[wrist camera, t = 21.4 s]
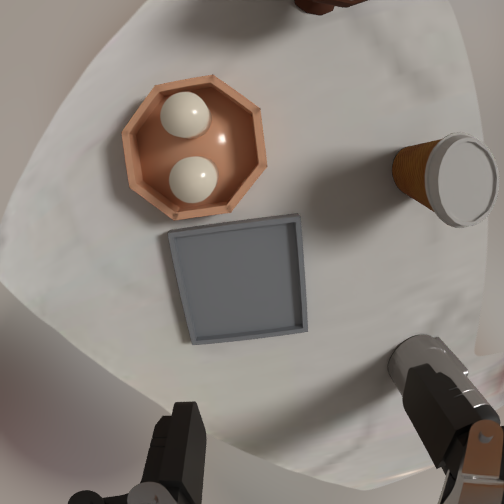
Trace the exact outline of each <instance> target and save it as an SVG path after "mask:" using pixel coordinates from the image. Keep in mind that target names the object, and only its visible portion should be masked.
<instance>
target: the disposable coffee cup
mask: <svg viewBox="0 0 504 504" xmlns="http://www.w3.org/2000/svg"><path fill="white" fill-rule="evenodd" d="M392 174H393V178H394V181H395V183H396V185H397V187H398V188H399V189H400V190H401V191H402V192H403V193H405V194H407V195H408V196H410V197H411V198H413V199H415V200H416V201H418V202H419V203H421V204H422V205H424V206H426V207H427V208H429V209H430V210H432V211H433V212H435V213H436V215H437V216H438V217H439V218H440V219H441V220H442V221H443V222H444V223H446V224H447V225H450V226H452V227H455V228H464V227H468V226H473V225H476V224H478V223H480V222H481V221H483V220H484V219H485V218H486V217H487V216H488V215H489V213H490V212H491V211H492V209H493V207H494V205H495V202H496V199H497V195H498V189H499V173H498V167H497V164H496V161H495V158H494V156H493V154H492V153H491V151H490V150H489V148H488V147H487V146H486V145H485V144H484V143H482V142H481V141H479V140H478V139H477V138H475V137H474V136H472V135H470V134H467V133H464V132H457V133H452V134H450V135H448V136H446V137H444V138H443V139H441V140H436V141H431V142H427V143H422V144H418V145H414V146H409V147H405V148H403V149H402V150H401V151H399V152H398V154H397V155H396V157H395V159H394V162H393V166H392Z"/></svg>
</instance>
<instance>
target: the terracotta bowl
mask: <svg viewBox="0 0 504 504" xmlns="http://www.w3.org/2000/svg"><path fill="white" fill-rule="evenodd" d="M179 92H191V93H194V94H196V95H197V96H199V97H200V98H201V99H202V100H203V102H204V103H205V104H206V106H207V107H208V108H209V110H210V112H211V115H212V122H211V126H210V128H209V130H208V131H207V132H206V133H205V134H204V135H202V136H201V137H199V138H195V139H187V138H182V137H177V136H174V135H172V134H170V133H168V132H167V131H166V130H165V129H164V127H163V125H162V123H161V119H160V113H161V109H162V106H163V104H164V103H165V101H166V100H167V99H168V98H169V97H171V96H172V95H174V94H176V93H179ZM260 110H261V109H260V108H259V107H257V106H256V105H255V104H253V103H252V102H251V101H249V100H248V99H247V98H245V97H244V96H243V95H241V94H240V93H238V92H237V91H236V90H234V89H233V88H231V87H230V86H228V85H227V84H226V83H224V82H223V81H221V80H220V79H218V78H217V77H215V76H214V75H213V74H212V75H208V76H202V77H196V78H190V79H185V80H179V81H174V82H169V83H164V84H160V85H155V86H154V88H153V89H152V90H151V92H150V93H149V94H148V96H147V97H146V98H145V100H144V101H143V102H142V104H141V105H140V107H139V108H138V109H137V111H136V112H135V114H134V115H133V116H132V118H131V119H130V121H129V122H128V124H127V125H126V126H125V128H124V129H123V131H122V132H121V133H122V140H123V148H124V155H125V162H126V168H127V175H128V181H129V187H130V188H131V189H132V190H134V191H135V192H136V193H138V194H139V195H140V196H142V197H143V198H144V199H146V200H147V201H148V202H150V203H151V204H152V205H154V206H155V207H156V208H158V209H159V210H161V211H162V212H163V213H165V214H166V215H167V216H169V217H170V218H171V219H173V221H175V220H181V219H187V218H194V217H201V216H209V215H216V214H223V213H231V212H232V210H233V209H234V208H235V206H236V205H237V204H238V203H239V201H240V200H241V199H242V198H243V196H244V195H245V194H246V192H247V191H248V190H249V189H250V187H251V186H252V185H253V184H254V182H255V181H256V180H257V179H258V177H259V176H260V175H261V174H262V172H263V171H264V170H265V169H266V167H267V160H266V151H265V143H264V135H263V127H262V119H261V111H260ZM194 156H204V157H207V158H209V159H211V160H212V161H213V162H214V163H215V164H216V166H217V168H218V171H219V180H218V183H217V185H216V187H215V188H214V190H213V191H212V193H211V194H210V195H209V196H208V197H207V198H206V199H204V200H203V201H201V202H197V203H187V202H183V201H181V200H180V199H178V198H177V197H176V196H175V195H174V194H173V192H172V190H171V188H170V184H169V176H170V172H171V170H172V168H173V167H174V165H175V164H176V163H177V162H179V161H180V160H182V159H184V158H187V157H194Z"/></svg>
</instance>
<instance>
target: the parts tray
mask: <svg viewBox="0 0 504 504" xmlns="http://www.w3.org/2000/svg"><path fill="white" fill-rule="evenodd" d="M168 239H169V244H170V249H171V254H172V259H173V264H174V268H175V273H176V278H177V283H178V287H179V292H180V296H181V300H182V305H183V309H184V313H185V317H186V322H187V326H188V330H189V334H190V338H191V342H192V345H201V344H212V343H222V342H232V341H241V340H250V339H258V338H266V337H274V336H281V335H288V334H295V333H302V332H308V321H307V302H306V285H305V269H304V255H303V242H302V229H301V217H300V215H299V214H298V213H297V214H288V215H280V216H271V217H263V218H255V219H247V220H239V221H232V222H224V223H217V224H209V225H202V226H195V227H187V228H180V229H173V230H170V231H169V232H168Z"/></svg>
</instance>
